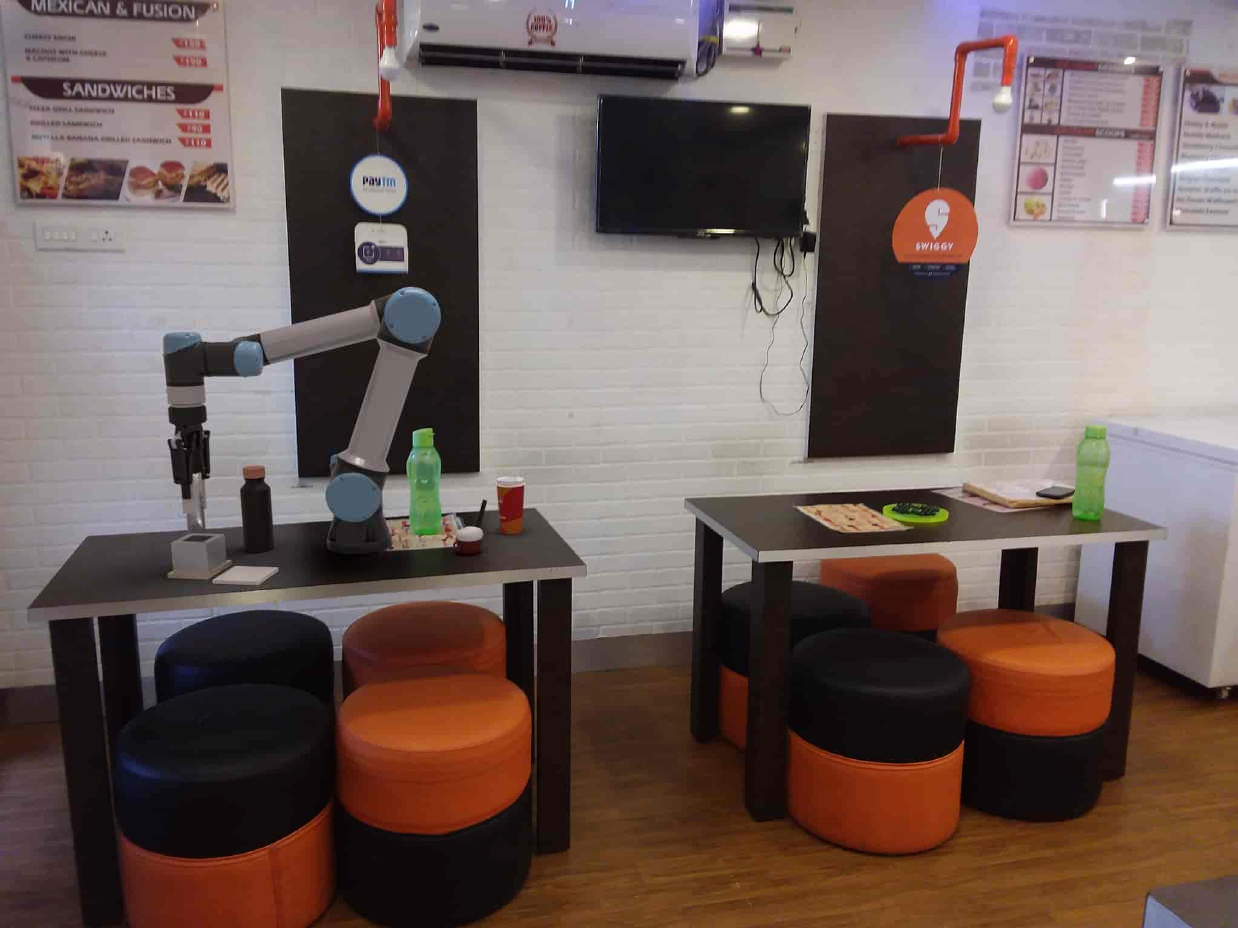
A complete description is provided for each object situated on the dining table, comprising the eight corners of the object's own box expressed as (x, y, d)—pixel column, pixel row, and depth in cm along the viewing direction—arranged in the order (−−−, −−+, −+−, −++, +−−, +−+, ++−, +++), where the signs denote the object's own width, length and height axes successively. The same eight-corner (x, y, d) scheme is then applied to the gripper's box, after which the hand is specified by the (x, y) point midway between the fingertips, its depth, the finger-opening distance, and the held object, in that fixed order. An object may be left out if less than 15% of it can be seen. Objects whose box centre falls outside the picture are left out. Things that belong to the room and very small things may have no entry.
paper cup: (500, 527, 248) (499, 475, 245) (529, 528, 247) (528, 476, 244) (492, 535, 240) (491, 481, 238) (522, 536, 239) (521, 482, 237)
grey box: (241, 558, 219) (239, 527, 218) (207, 579, 204) (204, 546, 202) (204, 557, 220) (201, 526, 218) (167, 578, 205) (164, 544, 203)
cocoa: (455, 559, 221) (451, 510, 218) (449, 550, 227) (446, 503, 224) (494, 553, 225) (491, 505, 222) (488, 545, 230) (485, 498, 227)
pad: (278, 570, 210) (278, 567, 210) (257, 585, 200) (257, 581, 200) (235, 569, 211) (235, 565, 211) (212, 583, 201) (212, 579, 201)
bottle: (274, 551, 225) (269, 469, 221) (244, 554, 223) (237, 471, 219) (274, 543, 231) (269, 464, 227) (244, 546, 229) (238, 465, 225)
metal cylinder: (193, 528, 210) (188, 470, 207) (208, 528, 209) (204, 471, 207) (184, 532, 206) (179, 474, 204) (200, 532, 206) (195, 474, 203)
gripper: (190, 399, 211) (198, 501, 215) (148, 409, 195) (157, 519, 199) (222, 400, 210) (230, 502, 215) (182, 410, 194) (191, 520, 198)
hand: (195, 510), depth 207 cm, fingers closed on metal cylinder, 3 cm apart
